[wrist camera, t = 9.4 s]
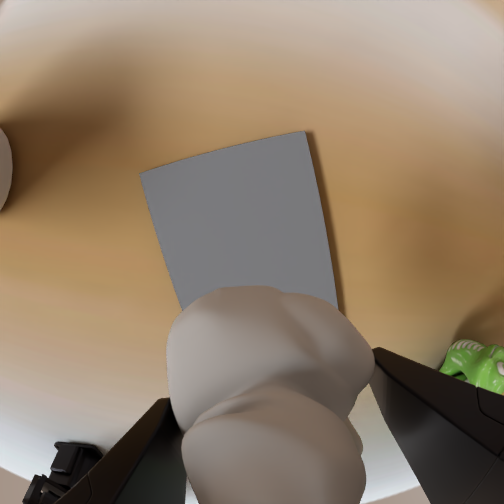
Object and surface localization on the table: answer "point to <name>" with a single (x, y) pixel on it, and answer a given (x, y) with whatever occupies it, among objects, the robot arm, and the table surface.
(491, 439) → the robot arm
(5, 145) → the can
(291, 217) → the grey mat
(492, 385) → the turtle holder
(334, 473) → the off-white lumpy chunk
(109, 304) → the table surface
